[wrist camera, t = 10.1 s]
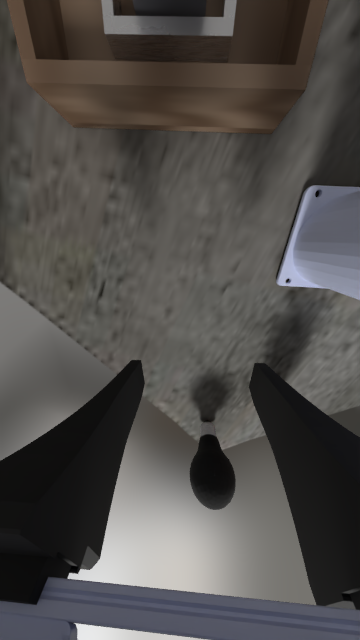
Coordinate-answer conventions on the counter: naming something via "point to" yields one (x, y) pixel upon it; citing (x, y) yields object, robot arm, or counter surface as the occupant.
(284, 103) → the walnut box
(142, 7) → the two-tone rectangular block
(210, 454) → the light bulb
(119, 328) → the counter surface
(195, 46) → the frame
